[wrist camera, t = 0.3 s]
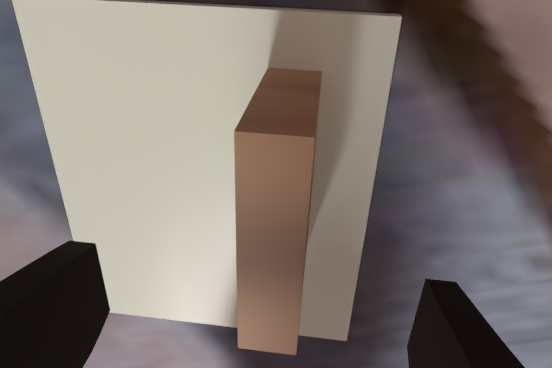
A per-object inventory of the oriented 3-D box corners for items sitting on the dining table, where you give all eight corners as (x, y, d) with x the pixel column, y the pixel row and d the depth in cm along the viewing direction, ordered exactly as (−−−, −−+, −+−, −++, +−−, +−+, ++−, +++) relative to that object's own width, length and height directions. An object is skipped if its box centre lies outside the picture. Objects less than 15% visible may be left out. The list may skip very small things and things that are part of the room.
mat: (346, 332, 23) (346, 341, 22) (96, 302, 24) (91, 309, 24) (399, 14, 15) (402, 17, 14) (21, -7, 16) (11, -5, 16)
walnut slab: (307, 245, 20) (296, 355, 14) (262, 240, 20) (236, 347, 15) (322, 71, 16) (315, 137, 10) (266, 67, 16) (231, 131, 11)
